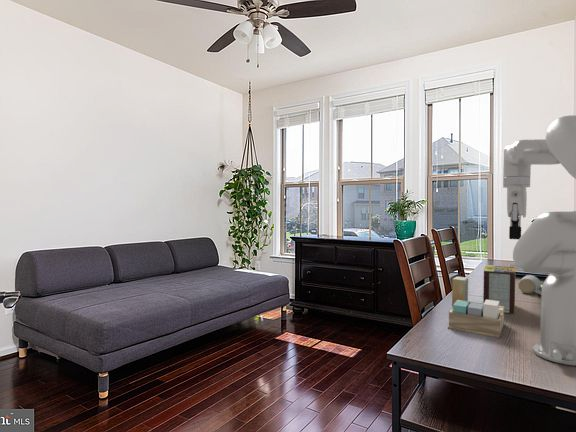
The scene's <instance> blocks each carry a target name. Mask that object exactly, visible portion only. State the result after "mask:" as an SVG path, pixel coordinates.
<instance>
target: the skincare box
mask: <svg viewBox="0 0 576 432" xmlns="http://www.w3.org/2000/svg"><path fill="white" fill-rule="evenodd" d="M451 290H452V291H451V292H452V293H451V294H452V297H451V299H452V300H451V309H452V308H453V304H454V303H455V302H456V301H457V300H462V301H469V298H468V297H469V277H466V276H465V277H464V276H454V277H453V278H452V289H451Z"/></svg>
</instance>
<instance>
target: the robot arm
mask: <svg viewBox="0 0 576 432" xmlns="http://www.w3.org/2000/svg"><path fill="white" fill-rule="evenodd" d="M559 164H560V165H561V166H562V167H563V168H564V169H565V171H567V173H568V174H569V175H570V176H571V177H572V178H574V180H576V115H575V114H574V115H565V116H561V117H559V118H557V119H555V120H554V121H553V122H552V123H551V124H550V125H549V126H548V128H547V130H546V133H545V139H543V138H542V139H541V138H540V139H520V140H516V141H515V142H514V143H513V144H509V145H508V144H507V145H506V146H505V147H504V150H503V166H502V167H503V169H502V171H503V172H502V173H503V175H502V176H503V177H502V188H506V211H507V217H508V218H509V221H510V223H509V224H510V225H509V228H508V229H509V232H508V233H509V235H508V238H509V239H510V240H517V241H516V242H515V245H514V248H513V251H512V260H513V264H514V265H515V266H516V267H517V268H518V269H519V270H521V271H522V272H526V273H529V274H548V275H547V277H546V278H545V280H544V282H543V284H542V285H541V288H542V291H541V295H540V325H539V326H540V327H539V328H540V329H539V331H540V333H539V337H540V338H539V343H536V344H534V345H533V346H532V351H533V353H534V354H535V355H537V356H539V357H540V358H542V359H545V360H548V361H551V362H554V363H558V364H562V365H565V366H566V365H568V366H575V367H576V210H573V211H571V210H570V211H549V212H545V213H542V214H540V215H538V216H537V217H536V218H534V220H533V221H532V223H531V224H530V225H529V226H528V227H527V228H526V230H525V231H524V232H523V234H522V226H521V223H522V222H521V220H522V219H521V218H524V219H525V218H526V217H527V199H528V198H527V197H528V196H527V188H530V187H531V175H532V174H531V167H532V166H533V165H543V166H545V165H547V166H548V165H549V166H550V165H559Z"/></svg>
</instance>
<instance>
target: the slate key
mask: <svg viewBox="0 0 576 432" xmlns="http://www.w3.org/2000/svg"><path fill="white" fill-rule="evenodd" d="M470 302H471V303H470V305H469V306H468V315H474V316H480V317H483V304H479V303H480V302H477V303H472V302H473V301H470Z"/></svg>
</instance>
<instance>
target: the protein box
mask: <svg viewBox="0 0 576 432" xmlns="http://www.w3.org/2000/svg"><path fill="white" fill-rule="evenodd" d="M482 296H483V302H482V303H484V302H485V300H486V299H487V300H494V301H499V306H504V314H509V315H516V314H515V310H516V309H515V308H516V306H515V305H516V303H515V302H516V269H515V267H514V266H506V265H505V266H503V265H502V266H501V265H490V264H485V265H484V269H483V295H482Z"/></svg>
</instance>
